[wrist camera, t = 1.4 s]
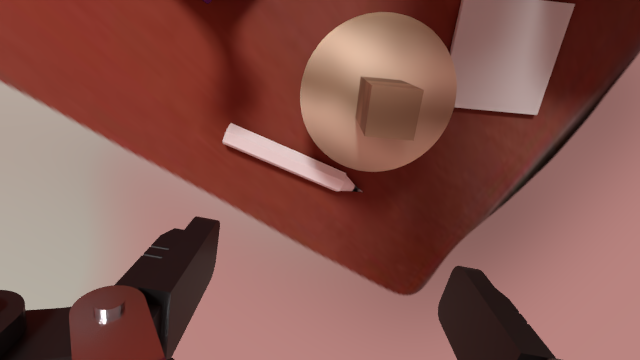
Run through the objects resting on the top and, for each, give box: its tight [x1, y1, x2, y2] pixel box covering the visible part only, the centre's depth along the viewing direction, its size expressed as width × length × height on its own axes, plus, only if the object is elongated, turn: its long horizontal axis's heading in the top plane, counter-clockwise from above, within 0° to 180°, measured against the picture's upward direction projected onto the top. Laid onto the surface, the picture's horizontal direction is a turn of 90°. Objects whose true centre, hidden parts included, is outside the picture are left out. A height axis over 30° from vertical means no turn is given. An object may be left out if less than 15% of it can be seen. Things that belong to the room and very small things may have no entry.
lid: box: [300, 12, 457, 172], centre depth 24 cm, size 12×12×7 cm
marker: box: [222, 123, 363, 192], centre depth 35 cm, size 3×2×16 cm
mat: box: [450, 0, 575, 115], centre depth 31 cm, size 10×10×1 cm
